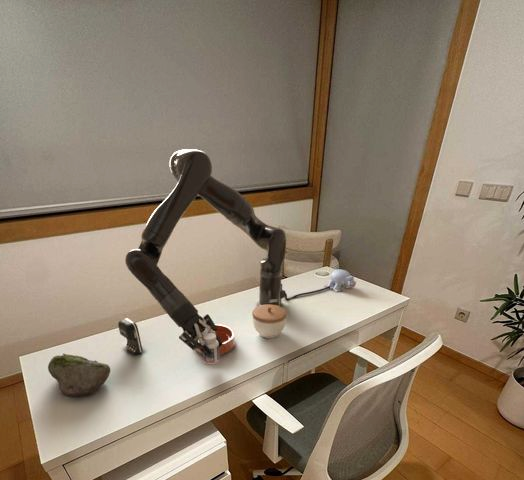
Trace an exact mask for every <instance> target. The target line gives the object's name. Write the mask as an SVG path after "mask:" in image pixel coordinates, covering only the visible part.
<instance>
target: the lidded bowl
mask: <svg viewBox="0 0 524 480" xmlns="http://www.w3.org/2000/svg"><path fill="white" fill-rule="evenodd" d="M251 314H252V315H251V316H252V324H253V328H254V330H255V331H256V332H257V334H258V335H260V337H262V338H266V339H273V338H276V337H277V336H278V335H279V334H281V333H282V331H283V330H284V329H285V325H286V323H287V322H286V321H287V316H288V315H287V314H288V313H287V310H286V309H285V308H284V307H282V306H281V305H280V306H277V305H270V304H269V305H260V306H259V305H258V306H255V307H254V308H253V309H252V310H251Z"/></svg>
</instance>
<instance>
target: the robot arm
mask: <svg viewBox="0 0 524 480" xmlns="http://www.w3.org/2000/svg"><path fill="white" fill-rule="evenodd" d="M169 168H170V172H171V174H172V176H173V178H174V179H175V181H177V184H176V185H175V187H174V189H173V190H172V191H171V193H169V195H168V196H167V197H166V198H165V199H164V200H163V201H162V203H160V204H159V206H157V208H156V209H155V210H154V211H153V213H152V214H151V216H150V217H149V219H148V221H147V223H146V225H145V227H144V228H143V231H142V233H141V236H140V237H141V238H140V239H141V241H140V244H139V246H138V248H135V249H131V250H129V251H128V252H127V253H126V255H125V261H124V262H125V266H126V268H127V269H128V272H130V273H131V274H132V275H133V276H134V277H135V278H136V279H137V280H138V281H139V282H140V283H141V284H142V285H143V286H144V287H145V288H146V290H148V292H149V294H151V296H152V297H153V298H154V299H155V300H156V301H157V303H158V304H159V305H160V307H161V308H162V310H163V311H164V312H165V313H166V314H167V316H169V318H170V319H171V321H173V322H174V323H175V324H176V326H177V327H179V328H181V329H182V331H183V332H182V333H181V334H180V335H178V339H179V340H180V341H182V343H184V344H185V345H186V346H187V347H188V348H190V350H193V351H196V349H200V350H201V351H202V352H203V353H204V355H205V356H207V357H210V356H211V355H212V354H213V352H212V351H211V350H210V349H209V348H208V347H207V345H206V344H205V345H204V342H203V340H202V335H201V333H202V334H203V335H204V334H206V333H209V332H210V333H214V334H215V335H216V331H217V330H218V329H217V327H216V325H217V324H215V322H214V321H213V319H212V318H211V316H210V314H208V313H207V314H205V315H204V316H201V315H200V314H199V310H198V309H197V308H196V307H195V305H193V303H192V302H191V301H190V299H189V298H188V297H187V296H186V295H185V294H184V293H183V292H182V291H181V290H180V289H179V288H178V286H176V284H174V282H173V281H172V280H171V279H170V278H169V276H167V275H166V274H165V273H164V272H163V271H162V270H161V268H160V267H159V266H158V264H159V261H160V259H161V257H162V253H163V250H164V248H165V246H166V245H167V243H168V242H169V239H170V238H171V236H172V234H173V232H174V230H175V228H176V227H177V225H178V223H179V222H180V220H181V219H182V217H183V216H184V214H185V213H186V212H187V210H188V208H189V207H190V206H191V204H192V203H194V201H195V199H196V198H197V196H199V197H200V198H202V199H203V200H204V201H205V202H207V204H208V205H210V206H211V207H212V208H213V209H214V210H215V211H216V212H218V213H219V214H220V215H221V216H222V217H224V219H226V220H227V221H228V222H230V223H231V224H232V225H233V226H235V227H236V228H237V229H238V230H240V231H242V232H243V233H245V234H246V235H247V236H248V237H249V238H250V239H251V240H252V241H253V242H254V243H255V245H257V247H259V248H260V249H261V250H264V251H267V257H263V258H262V259H260V260H259V286H258V287H259V292H258V293H259V295H258V306H260V305H269V304H270V305H277V306H280V307H281V305H282V299H285V300H286V301H290V300H293V299H295V298H298V297H300V296H305V295H306V296H307V295H310V294H315V293H320V292H322V291H325V290H328V289H330V287H331V286H329V287H327V286H326V287H323V288H320V289H317V290H312V291H307V292H302V293H297V294H295V295H293V296H291V297H289V298H288V294H287V293H286V290H285V289H283V284H282V275H283V274H282V273H283V264H284V261H285V257H286V255H285V254H286V249H287V247H286V246H287V236H286V232H285V231H284V230H283V229H282V228H279V227H275V226H271V225H268V224H267V223H265V222H264V221H262V220H261V219H260V218H259V217H257V215H256V212H255V209H254V207H253V205H252V204H251V203H250V202H249V200H247V199H246V198H245V196H243V195H242V193H240V192H239V191H237V190H236V189H234V188H233V187H231V186H229V185H227V184H226V183H224V182H221V181H220V180H218V179H216V178H215V177H214V176H212V172H213V165H212V162H211V159H210V157H209V155H207V153H205V151H202V150H198V149H181V150H178V151H175V152H174V153H173V154H172V156H171V157H170V159H169ZM335 284H336V283H335ZM334 286H335V285H334ZM211 326H212V327H213V329H212V327H211ZM205 328H206V329H205ZM216 340H217V341H218V342H219V347H220V346H221V345H222V344H223V343H222V341H221V340H220V339H219V337H218V336H217V335H216ZM198 341H199V342H198Z"/></svg>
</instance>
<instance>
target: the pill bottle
mask: <svg viewBox="0 0 524 480" xmlns="http://www.w3.org/2000/svg"><path fill="white" fill-rule="evenodd" d="M203 342H204V345H205V344H206V345H207V347H208V348H209V349H210V350H211V351H212V352H213V354H212V355H211V356H210V357H207V356H205V355H204V353H203V352H202V361H203V362H204V363H205V364H207V365H214V364H217V363H218V362H219V361H220V358H221V356H220V353H219V342H218V341H217V340H216V335H215V334H214V333H206V334H204V335H203Z"/></svg>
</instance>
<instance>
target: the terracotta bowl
mask: <svg viewBox="0 0 524 480" xmlns="http://www.w3.org/2000/svg"><path fill="white" fill-rule="evenodd" d="M215 325H216V327H217V329H218V330H217V331H216V335H217V336H218V337H219V339H220V340H221V341H222V343H223V344H222V345H221V346H220V347H219V353H220V355H223V354H227V353H228V352H230V351H231V350H233V348H234V347H235V343H236V342H235V332H234V330H233V329H232V328H231V327H229V326H227V325H223V324H215ZM211 327H212V326H211ZM205 329H206V328H205ZM212 329H213V327H212ZM209 333H210V332H209ZM201 335H202V340H203V334H202V333H201ZM198 342H199V341H198ZM195 351H196V352H198V354H202V351H201V350H200V349H195ZM202 355H203V354H202Z"/></svg>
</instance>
